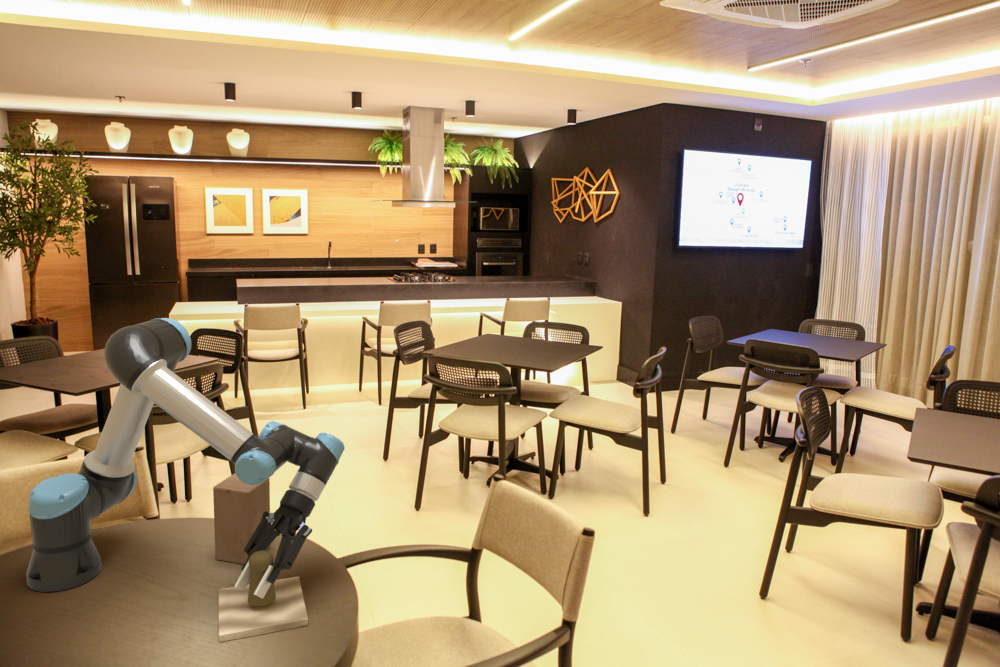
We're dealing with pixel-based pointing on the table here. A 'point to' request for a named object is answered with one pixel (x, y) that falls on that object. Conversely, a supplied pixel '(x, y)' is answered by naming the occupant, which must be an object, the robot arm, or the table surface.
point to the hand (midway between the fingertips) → (248, 592)
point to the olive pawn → (260, 577)
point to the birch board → (261, 611)
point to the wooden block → (237, 516)
